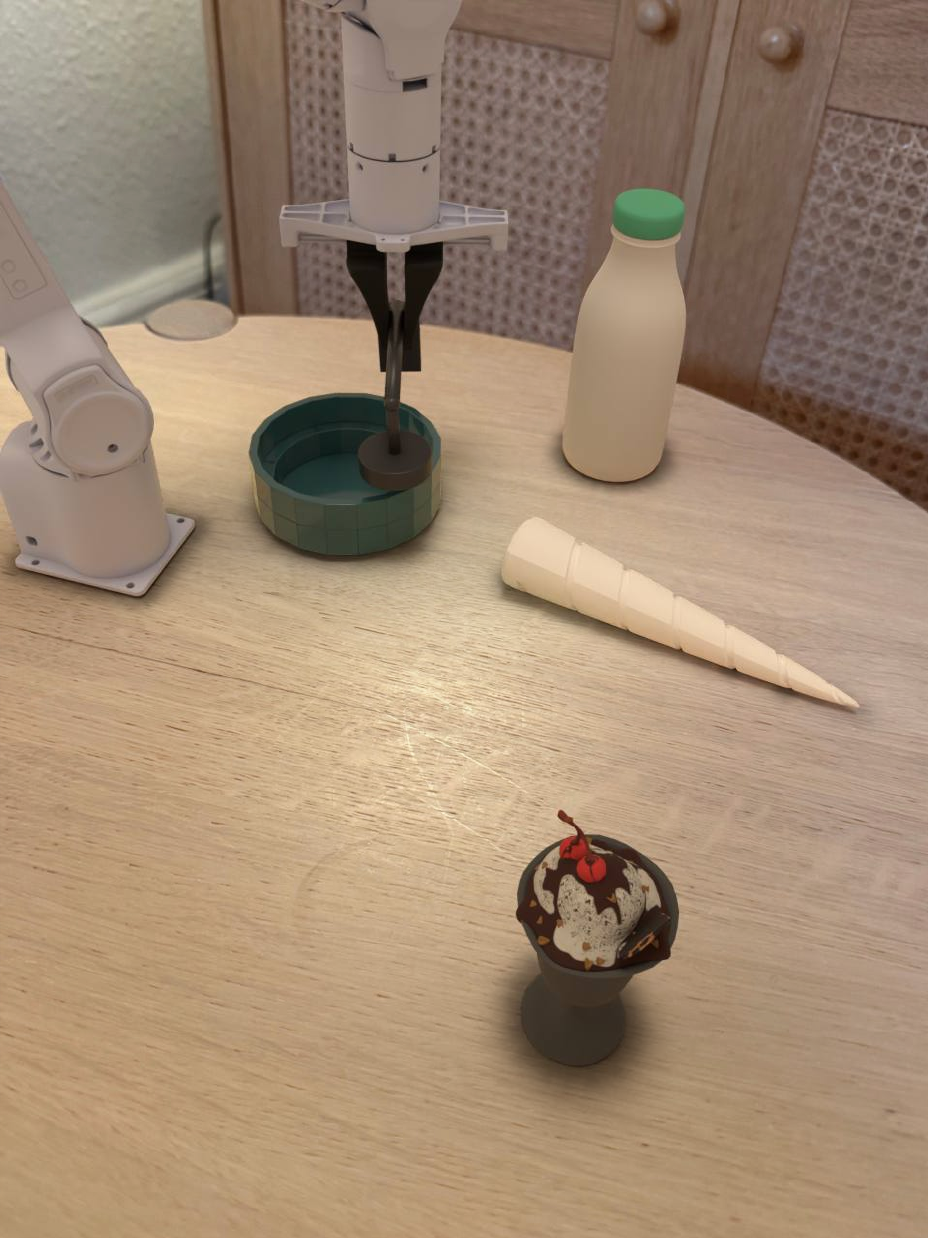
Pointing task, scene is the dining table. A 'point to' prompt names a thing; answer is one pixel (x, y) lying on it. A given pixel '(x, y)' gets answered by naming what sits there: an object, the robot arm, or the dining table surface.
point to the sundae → (590, 940)
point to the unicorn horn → (643, 607)
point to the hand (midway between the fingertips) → (396, 342)
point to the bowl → (337, 476)
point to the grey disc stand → (396, 419)
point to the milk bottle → (628, 344)
